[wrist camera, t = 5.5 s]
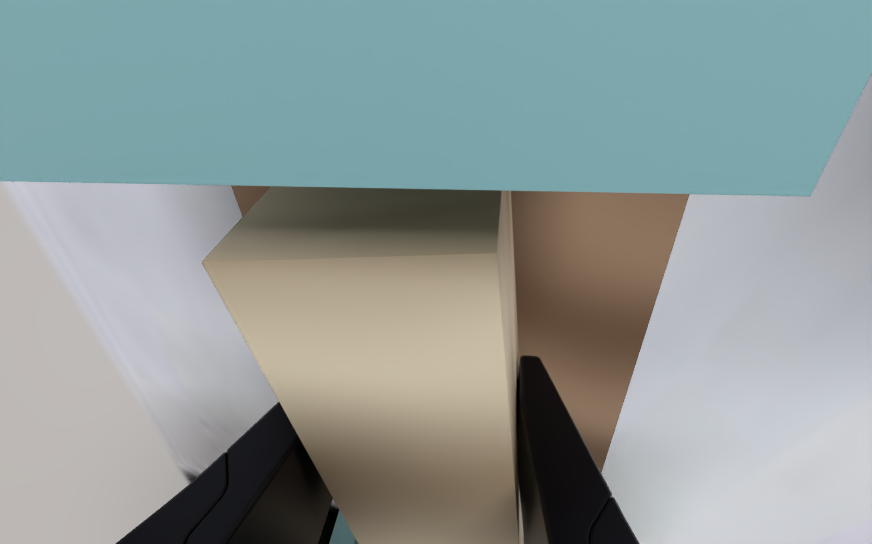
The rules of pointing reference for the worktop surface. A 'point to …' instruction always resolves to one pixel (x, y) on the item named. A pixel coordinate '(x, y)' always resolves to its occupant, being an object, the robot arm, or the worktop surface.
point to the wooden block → (389, 350)
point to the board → (583, 290)
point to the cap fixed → (432, 93)
